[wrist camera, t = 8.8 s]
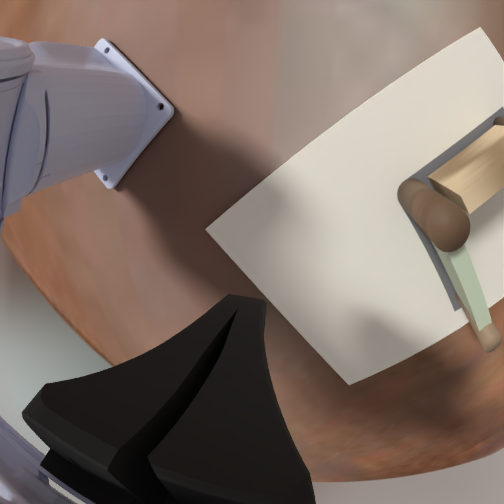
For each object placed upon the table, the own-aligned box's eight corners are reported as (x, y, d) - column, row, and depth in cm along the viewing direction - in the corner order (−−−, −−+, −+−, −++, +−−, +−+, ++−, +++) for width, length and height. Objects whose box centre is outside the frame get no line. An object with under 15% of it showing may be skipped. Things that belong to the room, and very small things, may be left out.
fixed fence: (407, 216, 16) (442, 260, 10) (391, 189, 15) (423, 224, 10) (512, 136, 11) (569, 150, 6) (499, 109, 11) (557, 113, 6)
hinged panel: (416, 221, 15) (450, 263, 10) (433, 208, 15) (474, 245, 10) (458, 303, 17) (485, 356, 12) (472, 293, 16) (503, 343, 11)
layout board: (207, 227, 19) (205, 229, 19) (477, 28, 9) (480, 26, 9) (348, 382, 23) (348, 385, 22) (562, 239, 12) (565, 241, 12)
